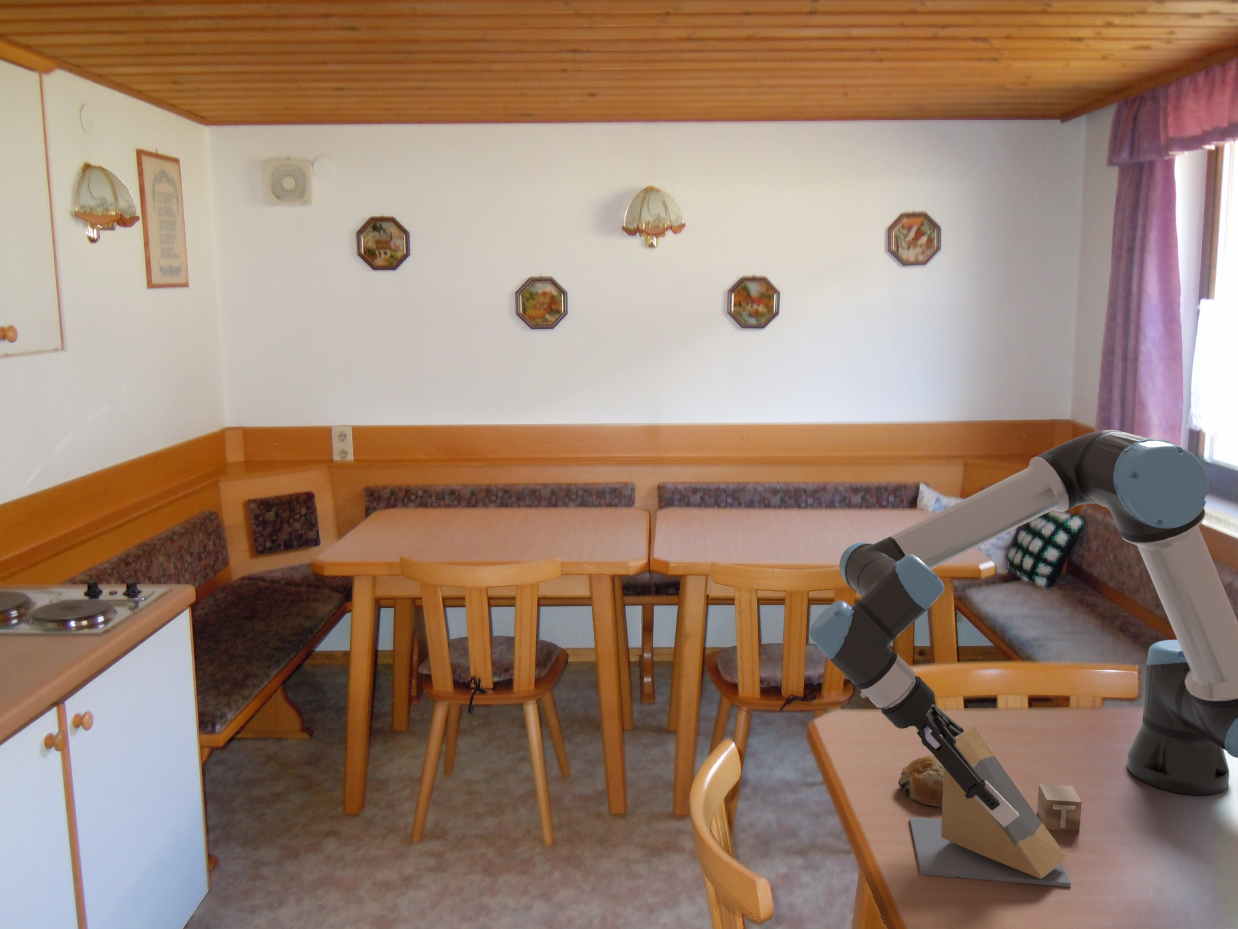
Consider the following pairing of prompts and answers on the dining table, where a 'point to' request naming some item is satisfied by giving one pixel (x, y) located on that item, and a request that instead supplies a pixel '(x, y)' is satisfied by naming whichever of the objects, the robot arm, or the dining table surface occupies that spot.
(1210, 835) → the dining table surface
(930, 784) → the bread roll
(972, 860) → the grey rubber mat
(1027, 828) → the sandwich container
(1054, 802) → the wooden letter cube
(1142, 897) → the dining table surface
